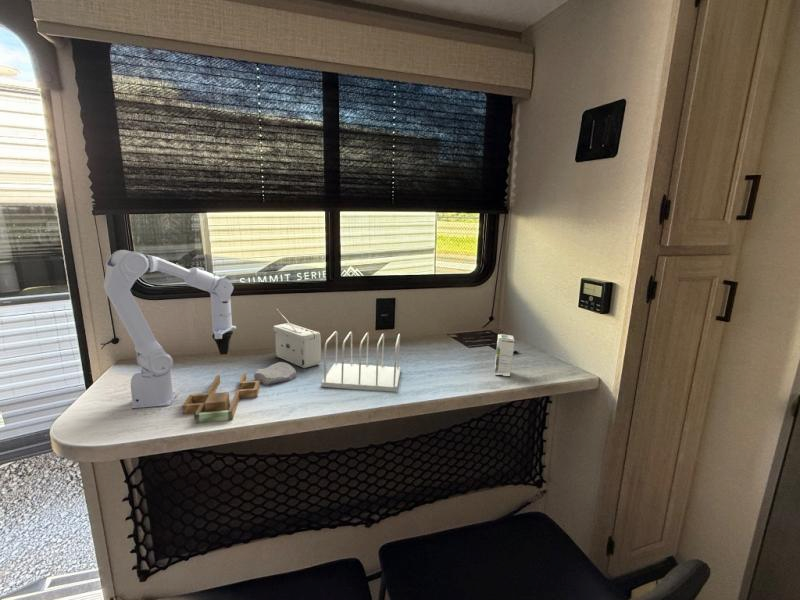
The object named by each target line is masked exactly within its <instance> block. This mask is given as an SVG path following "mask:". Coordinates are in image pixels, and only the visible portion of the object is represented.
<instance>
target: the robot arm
mask: <svg viewBox="0 0 800 600" xmlns="http://www.w3.org/2000/svg"><path fill="white" fill-rule="evenodd" d="M105 266H106V269H105V270H106V271H105V276H104V281H103V289H104V292H105V294H106V296H107V298H108V299H109V301H110V303H111V305H112V306H113V308H114V310H115V312H116V314H117V315H118V318H119V319H120V321H121V323H122V325H123V327H124V328H125V330H126V332H127V333H128V335H129V337H130V339H131V341H132V342H133V345H134V351H135V353H136V362H137V364H138V366H140V367H141V370H140V372H136V373H134V374H133V375H132V377H131V379H130V394H131V403H132V406H131V409H140V408H151V407H152V408H153V407H163V406H165V407H166V406H169V405H171V403H172V402H173V401H174V399H175V398H176V397H177V395H178V394H179V392H178V391H175V392H174V391H173V382H172V372H171V370H172V367H173V365H174V360H173V357H172V356H171V355H170V354H168V353H167V352H166V351H165V349H164V348H163V347H162V346H161V344H160V343H159V342H158V341H157V340H156V338H155V336H154V334H153V331H152V329H151V327H150V326H149V324H148V321H147V320H146V318H145V316H144V315H143V312H142V311H141V308H140V306H139V304H138V303H137V300H136V298H135V297H134V295H133V294H132V291H131V288H133V285H134V284H135V283H136V281H137V280H138V279H139V278H141V276H143V275H145V273H146V272H149V273H153V272H157V271H158V272H161V273H165V274H168V275H171V276H174V277H177V278H180V279H183V280H184V282H185V284H186V285H187V286H190V287H193V288H196V289H199V290H202V291H204V292H208V293H209V294H210V306H211V307H210V309H211V321H212V322H211V323H212V327H211V331H212V332H213V334H212V336H211V337H212V340H214V341H215V344H216V346H217V348H218V349H217V350H218V352H219V355H220V356H221V355H222V356H223V355H224V356H225V355H228V353H229V348H230V342H231V338H232V335H233V333H234V331H233V330H235V329H237V326H236V325H233V322H232V321H233V320H232V318H233V317H232V301H231V299H232V298H231V295H232V293H233V292H234V285H233V283H232V281H231V280H230V279H229V278H225V277H221V276H219V274H218V273H214V272H213V273H212V272H209V271H206V270H205V268H204V267H202V266H201V267H200V266H198V267H194V266H193V267H190V268H186V267H183V266H181V265H179V264H177V263H176V264H175V263H174V262H172V261H171V262H170V261H168V260H166V259H163V258H162V257H159V256H156V255H155V256H154V255H150V254H145V253H142V252H139V251H130V250H127V249H120V250H119V249H118V250H116V251H115V252H113V253H112V254H111V255H110V257H109V258H107V261H106V262H105Z"/></svg>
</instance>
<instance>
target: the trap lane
mask: <svg viewBox="0 0 800 600" xmlns="http://www.w3.org/2000/svg"><path fill="white" fill-rule="evenodd" d="M220 383H221V375H219V374H218V375H216V376H215V377H214V379H213V381H212V383H211V385H210V387H209V389H208V390H207V392H206V393H198V394H197V393H196V394H189V395H188V397H187V398H186V399H185V401H184V402H183V404H182V406H181V407H182V409H181V410H182V415H189V414H194V424H205V423H212V422H213V423H214V422H222V421H232V420H234V417H235V414H236V411H237V408H238V406H239V402H240V399H248V398H250V399H251V398H258V396H259V392H260V388H261V386H260V383H261V382H260V381H256V380H250V381H247V373H242V374H241V377H240V379H239V382H238V389H236V390H235V391H234V395H233V397H232V400H231V403H230V407H229V410H225V411H214V412H205V402H206V400H207V398H208V396H209V394H211V393H217V392H216V391H217V389H218V388H219V385H220Z"/></svg>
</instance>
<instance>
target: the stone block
mask: <svg viewBox="0 0 800 600" xmlns="http://www.w3.org/2000/svg"><path fill="white" fill-rule="evenodd" d="M253 376H254V377H253V378H254V379H255V380H254V381H260V383H263V385H265V386H268V385H269V386H270V385H274V384H277V383H283V382H287V381H290V380H291V381H292V379H295V378H296V377H297V372H296V369H295V368H294V366H292V365H291V364H290V363H287V362H285V361H284V362H283V361H278V362H276V363H275V362H274V364H271V365H269V366H267V367H266V368H258V369H256V370H255V371H254V375H253Z"/></svg>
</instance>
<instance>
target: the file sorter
mask: <svg viewBox="0 0 800 600" xmlns="http://www.w3.org/2000/svg"><path fill="white" fill-rule="evenodd" d="M334 336H335V363H333V365H332V366H330V367H331V368H330V369H329V370H328V372H327V348H328V347H327V345H328V343H329V341H330V340H331V339H332V338H333V337H334ZM338 336H339V335H338V331H336V330H335V331H334V332H333V333H332V334H331V335H330V336H329V337H328V338H327V339H326V341H325V343H324V349H323V352H324V354H323V356H324V357H323V358H324V359H323V362H324V363H323V365H324V366H323V379H322V381H321V385H320V386H321V387H323V388H331V389H332V388H336V389H347V390H348V389H349V390H350V389H351V390H364V391H365V390H366V391H378V392H379V391H380V392H382V391H383V392H393V391H397V392H398V389H397V388H399V382H400V377H401V373H402V369H401V367H400V366H399V365H400V351H401V350H400V349H401V348H400V344H401V333H398V334H397V337H396V342H395V348H394V349H395V350H394V363H393V365H394V366H386V365H385V366H384V356H385V355H384V354H385V353H384V351H385V333H381V335H380V338H379V339H378V342H377V344H376V345H377V346H376V359H375V360H376V362H375V364H376V365H371V364H370V365H368V363H369V343H370V342H369V339H370V336H369V332H366V333H365V334H364V336H363V338H362V339H361V341H360V344H359V356H358V364H355V363H353V332H352V331H349V333H348V334H347V335H346V336H345V338H344V339H343V341H342V348H341V363H338V345H339V343H338V338H339V337H338ZM349 337H350V363H344V362H345V345H346V342H347V340H348V338H349ZM365 340H366V359H365V360H366V362H365V364H362V348H363V347H362V346H363V343H364V342H365ZM381 341H382V344H381ZM380 344H381V345H382V346H381V347H382V348H381V349H382V350H381V365H379V351H380V350H379V348H380Z"/></svg>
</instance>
